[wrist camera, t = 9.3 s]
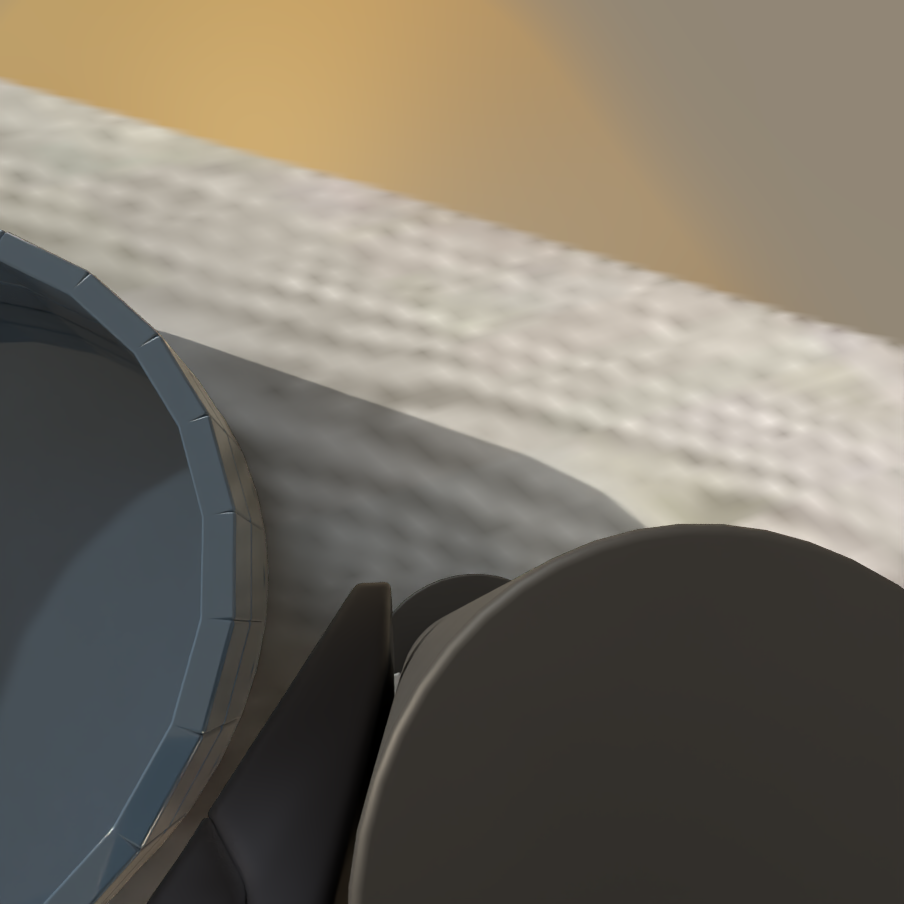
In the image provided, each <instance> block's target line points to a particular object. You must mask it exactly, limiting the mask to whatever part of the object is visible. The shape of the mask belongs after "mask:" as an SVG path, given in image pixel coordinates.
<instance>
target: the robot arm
mask: <svg viewBox="0 0 904 904" xmlns="http://www.w3.org/2000/svg"><path fill="white" fill-rule="evenodd" d="M394 697H395V685H394V638H393V618H392V599H391V587H390V585H389V584H388V583H386V582H376V583H360V584H357V585H356V586H355V587H354V588H353V589H352V591H351V592H350V594H349V596H348V597H347V599H346V600H345V602H344V603H343V605H342V606H341V608H340V609H339V611H338V612H337V614H336V616H335V617H334V619H333V620H332V622H331V623H330V625H329V626H328V628H327V629H326V631H325V633H324V634H323V636H322V637H321V639H320V640H319V642H318V643H317V645H316V646H315V648H314V650H313V651H312V653H311V654H310V656H309V657H308V659H307V660H306V662H305V663H304V665H303V666H302V668H301V670H300V671H299V673H298V674H297V676H296V677H295V679H294V680H293V682H292V683H291V685H290V687H289V688H288V690H287V691H286V693H285V694H284V696H283V697H282V699H281V700H280V702H279V704H278V705H277V707H276V708H275V710H274V711H273V713H272V714H271V716H270V717H269V719H268V720H267V722H266V724H265V725H264V727H263V728H262V730H261V731H260V733H259V734H258V736H257V737H256V739H255V741H254V742H253V744H252V745H251V747H250V748H249V750H248V751H247V753H246V754H245V756H244V758H243V759H242V761H241V762H240V764H239V765H238V767H237V768H236V770H235V771H234V773H233V774H232V776H231V778H230V779H229V781H228V782H227V784H226V785H225V787H224V788H223V790H222V791H221V793H220V795H219V796H218V798H217V799H216V801H215V802H214V804H213V805H212V807H211V808H210V810H209V812H208V815H209V818H204V819H203V820H202V822H201V823H200V825H199V826H198V828H197V829H196V831H195V833H194V834H193V836H192V837H191V839H190V840H189V842H188V843H187V845H186V846H185V848H184V850H183V851H182V853H181V854H180V856H179V857H178V859H177V860H176V861H175V863H174V864H173V866H172V867H171V869H170V870H169V872H168V873H167V875H166V876H165V877H164V879H163V880H162V882H161V883H160V885H159V886H158V888H157V889H156V891H155V892H154V893H153V895H152V896H151V898H150V899H149V901H148V902H147V904H348V892H349V881H350V874H351V868H352V861H353V854H354V847H355V841H356V834H357V829H358V825H359V821H360V818H361V814H362V810H363V807H364V803H365V799H366V796H367V792H368V788H369V785H370V781H371V777H372V774H373V770H374V767H375V763H376V760H377V756H378V753H379V749H380V746H381V742H382V739H383V735H384V732H385V728H386V725H387V721H388V718H389V714H390V711H391V707H392V704H393V700H394Z"/></svg>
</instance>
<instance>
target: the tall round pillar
mask: <svg viewBox="0 0 904 904" xmlns="http://www.w3.org/2000/svg"><path fill="white" fill-rule="evenodd" d="M392 618H393V638H394V685H395V697H394V700H393V704H392V707H391V711H390V714H389V718H388V721H387V725H386V728H385V732H384V735H383V739H382V742H381V746H380V749H379V753H378V756H377V760H376V763H375V767H374V770H373V774H372V777H371V781H370V785H369V788H368V792H367V796H366V799H365V803H364V807H363V810H362V814H361V818H360V821H359V825H358V829H357V834H356V841H355V847H354V854H353V861H352V868H351V874H350V881H349V892H348V904H904V589H903V588H901V587H900V586H899V585H897V584H895V583H894V582H892V581H890V580H888V579H887V578H885V577H883V576H881V575H879V574H878V573H876V572H874V571H872V570H870V569H869V568H867V567H865V566H863V565H861V564H860V563H858V562H856V561H854V560H852V559H850V558H848V557H845V556H843V555H840V554H838V553H835V552H833V551H831V550H828V549H826V548H823V547H821V546H818V545H816V544H813V543H811V542H808V541H804V540H801V539H797V538H793V537H790V536H786V535H782V534H778V533H775V532H771V531H767V530H761V529H754V528H746V527H739V526H732V525H725V524H675V525H668V526H660V527H652V528H644V529H637V530H633V531H629V532H625V533H622V534H618V535H614V536H610V537H607V538H603V539H599V540H596V541H593V542H590V543H588V544H586V545H583V546H581V547H579V548H576V549H574V550H571V551H569V552H567V553H564V554H562V555H560V556H557V557H555V558H553V559H551V560H549V561H547V562H545V563H543V564H541V565H540V566H538V567H536V568H534V569H532V570H530V571H528V572H526V573H525V574H523V575H521V576H519V577H517V578H515V579H513V580H509V579H506V578H502V577H498V576H492V575H485V574H466V575H458V576H453V577H449V578H445V579H441V580H439V581H436V582H434V583H432V584H429V585H427V586H425V587H424V588H422V589H420V590H419V591H417V592H415V593H414V594H413V595H411V596H410V597H409V598H407V599H406V600H405V601H404V602H403V603H402V604H401V605H400V606H399V607H398V608H397V609H396V610H395V611H394V612H393V613H392Z"/></svg>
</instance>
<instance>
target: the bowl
mask: <svg viewBox="0 0 904 904" xmlns="http://www.w3.org/2000/svg"><path fill="white" fill-rule="evenodd" d="M268 581H269V574H268V560H267V546H266V533H265V528H264V524H263V519H262V514H261V509H260V504H259V500H258V495H257V491H256V488H255V486H254V483H253V480H252V477H251V474H250V472H249V469H248V466H247V463H246V461H245V458H244V455H243V453H242V450H241V449H240V447H239V444H238V443H237V441H236V439H235V438H234V436H233V434H232V432H231V430H230V428H229V426H228V424H227V423H226V421H225V419H224V418H223V416H222V415H221V413H220V412H219V411H218V409H217V408H216V407H215V405H214V404H213V402H212V401H211V399H210V398H209V396H208V394H207V393H206V391H205V389H204V388H203V386H202V385H201V383H200V381H199V380H198V379H197V378H196V377H195V375H194V374H193V373H192V372H191V371H190V369H189V368H188V367H187V366H186V365H185V363H184V362H183V361H182V360H181V359H180V358H179V356H178V355H177V354H176V353H175V352H174V350H173V349H172V348H171V347H170V346H169V344H168V343H167V342H166V341H165V340H164V338H163V337H162V336H161V335H160V334H159V333H158V332H157V331H156V330H155V329H154V328H153V327H152V326H151V325H150V324H149V323H147V322H146V321H145V320H144V319H143V318H142V317H141V316H140V315H138V314H137V313H136V312H135V311H134V310H133V309H132V308H131V307H130V306H128V305H127V304H126V303H125V302H124V301H123V300H122V299H121V298H119V297H118V296H117V295H116V294H115V293H114V292H113V291H112V290H111V289H109V288H108V287H107V286H106V285H105V284H104V283H103V282H102V281H100V280H99V279H98V278H97V277H96V276H95V275H93V274H91V273H90V272H89V271H87V270H85V269H83V268H81V267H79V266H77V265H75V264H73V263H71V262H69V261H67V260H65V259H63V258H61V257H59V256H57V255H55V254H53V253H51V252H49V251H47V250H45V249H43V248H40V247H38V246H36V245H34V244H32V243H30V242H28V241H26V240H24V239H22V238H20V237H18V236H16V235H14V234H12V233H10V232H5V231H3V230H0V904H106V903H107V902H109V901H110V900H111V899H112V898H113V897H114V896H115V895H116V894H117V893H118V892H119V891H120V890H121V889H122V887H123V886H124V885H125V884H126V883H127V882H128V881H129V879H130V878H131V877H132V876H133V875H134V874H135V873H136V872H137V870H138V869H139V868H140V867H141V866H142V865H143V864H144V863H145V862H146V861H147V860H148V859H149V858H150V857H151V856H152V855H153V854H154V853H155V852H156V851H157V850H158V849H159V848H160V847H161V846H162V845H163V843H164V842H165V841H166V840H167V838H168V837H169V836H170V834H171V833H172V832H173V831H174V829H175V828H176V827H177V826H178V824H179V823H180V822H181V821H182V820H183V819H184V817H185V816H186V814H187V813H188V812H189V810H190V809H191V808H192V807H193V805H194V804H195V802H196V800H197V799H198V797H199V796H200V794H201V792H202V791H203V789H204V787H205V786H206V784H207V783H208V781H209V779H210V778H211V776H212V774H213V773H214V771H215V769H216V768H217V766H218V765H219V763H220V761H221V759H222V757H223V755H224V753H225V751H226V749H227V746H228V744H229V742H230V740H231V738H232V736H233V733H234V731H235V729H236V727H237V725H238V723H239V720H240V718H241V716H242V714H243V711H244V708H245V704H246V701H247V698H248V695H249V692H250V689H251V686H252V683H253V680H254V677H255V673H256V670H257V666H258V661H259V656H260V651H261V646H262V640H263V635H264V630H265V625H266V613H267V597H268Z"/></svg>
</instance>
